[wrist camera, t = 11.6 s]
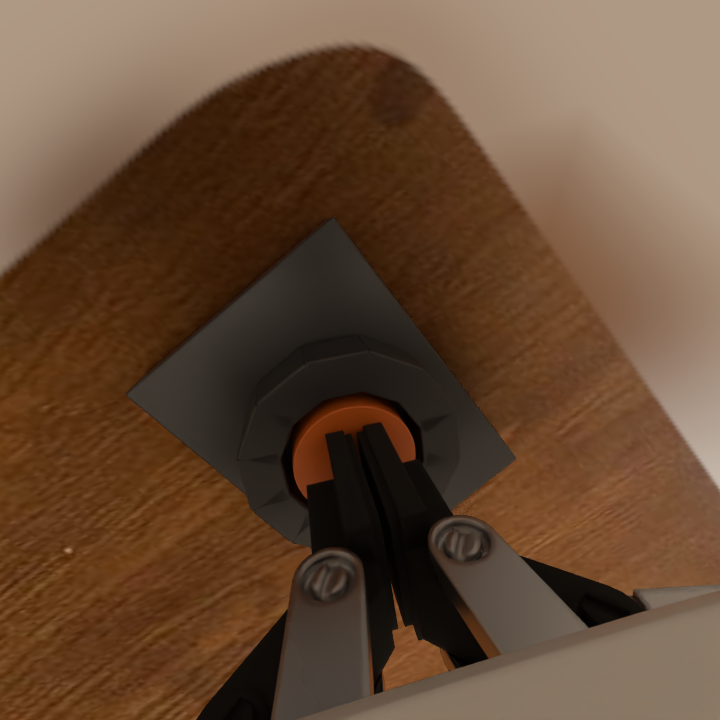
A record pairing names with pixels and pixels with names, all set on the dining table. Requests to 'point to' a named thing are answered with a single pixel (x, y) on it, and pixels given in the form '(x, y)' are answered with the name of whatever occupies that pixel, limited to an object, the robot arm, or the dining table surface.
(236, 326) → the button box
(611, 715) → the robot arm
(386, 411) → the button
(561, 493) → the dining table surface
